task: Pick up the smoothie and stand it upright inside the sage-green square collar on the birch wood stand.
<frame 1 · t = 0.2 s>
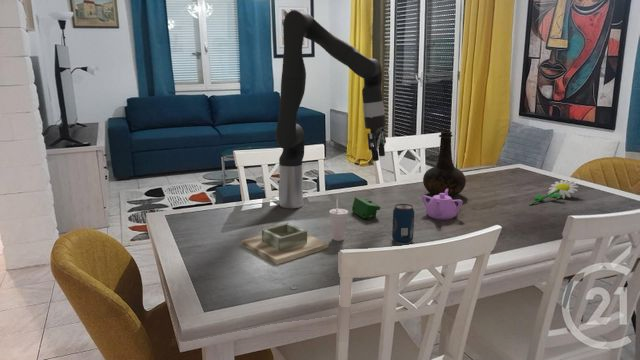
hand: (379, 158, 187), 23 cm above the table, tool pointing down, fingers open, 8 cm apart
smoothie: (338, 239, 170), on the table
toy dumpster: (366, 215, 195), on the table
collar stand: (284, 246, 163), on the table
glass bottle: (443, 195, 221), on the table
soda can: (402, 241, 168), on the table
teapot: (440, 216, 193), on the table
decorative flower: (549, 200, 214), on the table
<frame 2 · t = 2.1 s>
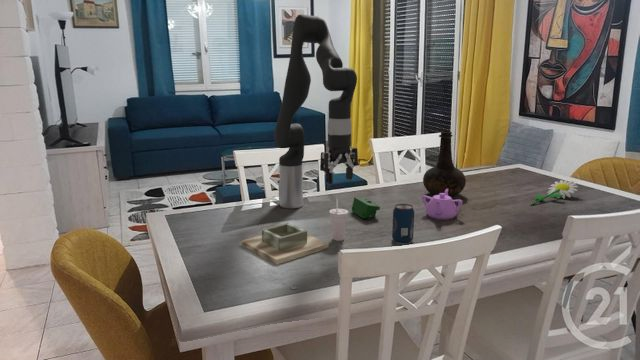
hand: (339, 181, 165), 20 cm above the table, tool pointing down, fingers open, 8 cm apart
nothing on the table moved.
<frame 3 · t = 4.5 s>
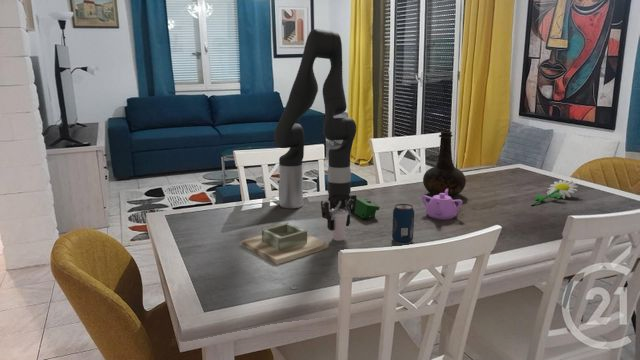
hand: (338, 227, 169), 4 cm above the table, tool pointing down, fingers closed on smoothie, 6 cm apart
smoothie: (338, 239, 170), on the table, touching gripper
everything else where it was.
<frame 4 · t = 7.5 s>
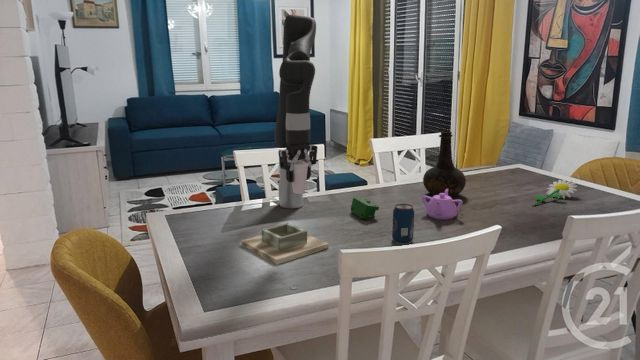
hand: (298, 180, 159), 22 cm above the table, tool pointing down, fingers closed on smoothie, 6 cm apart
smoothie: (299, 192, 160), point 18 cm above the table, touching gripper
everything else where it was.
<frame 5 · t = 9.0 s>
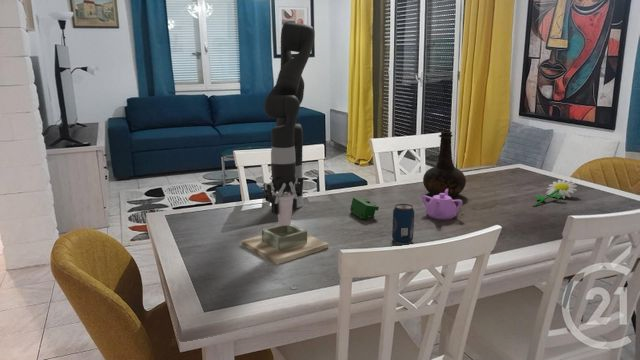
hand: (284, 211, 160), 12 cm above the table, tool pointing down, fingers closed on smoothie, 6 cm apart
smoothie: (284, 224, 161), point 8 cm above the table, touching gripper
everything else where it was.
when the fingers open (7 cm above the table, at t = 10.5 s): smoothie drops 1 cm, resting on collar stand.
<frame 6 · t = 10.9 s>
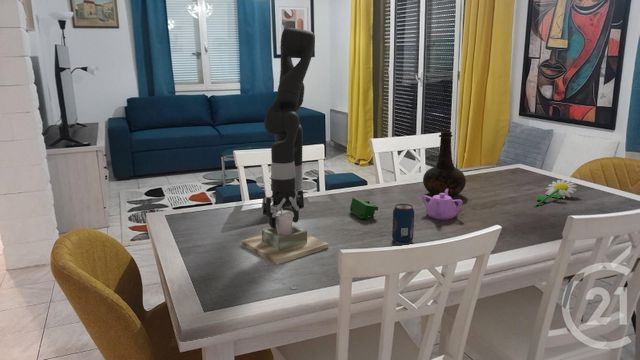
hand: (284, 224, 162), 7 cm above the table, tool pointing down, fingers open, 8 cm apart
smoothie: (284, 242, 163), point 1 cm above the table, touching collar stand
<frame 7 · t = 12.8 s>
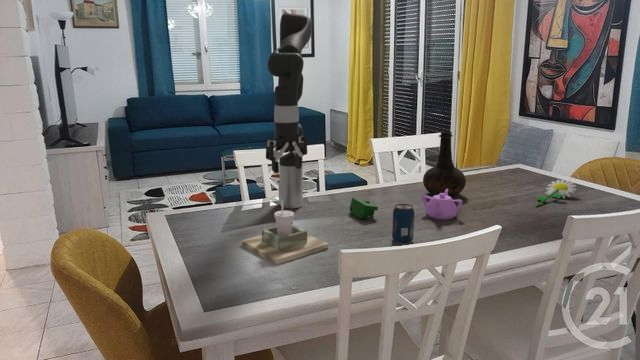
hand: (287, 170, 160), 24 cm above the table, tool pointing down, fingers open, 8 cm apart
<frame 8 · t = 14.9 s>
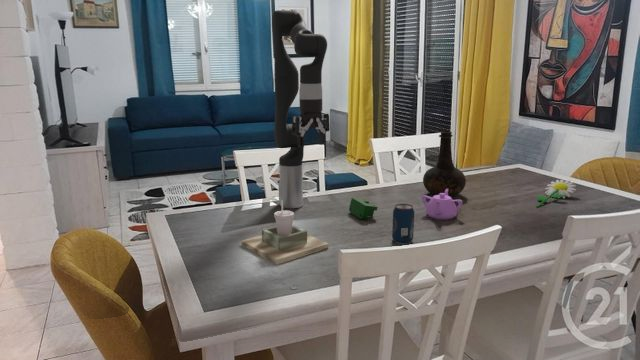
hand: (311, 146, 170), 30 cm above the table, tool pointing down, fingers open, 8 cm apart
at the end: smoothie 0.1 cm off-centre on the collar stand, point 1.3 cm above the collar stand's base; smoothie tilted 1°; the gripper is holding nothing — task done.
